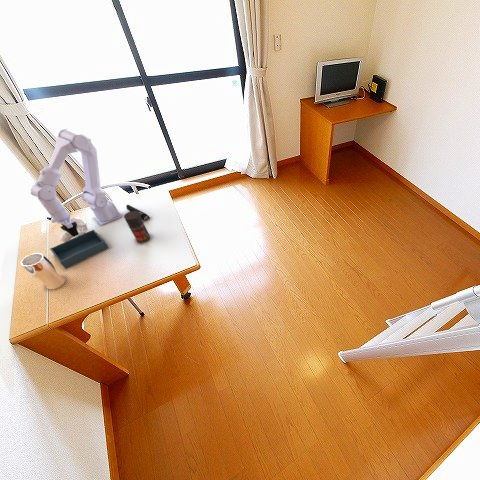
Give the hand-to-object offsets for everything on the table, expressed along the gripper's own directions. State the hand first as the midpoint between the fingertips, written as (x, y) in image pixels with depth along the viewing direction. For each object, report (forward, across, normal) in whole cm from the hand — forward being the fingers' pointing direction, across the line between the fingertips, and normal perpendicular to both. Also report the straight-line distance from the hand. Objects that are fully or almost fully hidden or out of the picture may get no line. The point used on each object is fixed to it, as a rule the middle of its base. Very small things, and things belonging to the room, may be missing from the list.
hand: (72, 231), depth 130 cm
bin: (+3, +12, -2) cm, 13 cm away
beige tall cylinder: (+3, +24, -16) cm, 29 cm away
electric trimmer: (+3, +4, +27) cm, 28 cm away
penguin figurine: (+3, 0, 0) cm, 3 cm away
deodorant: (+3, +24, +20) cm, 31 cm away
